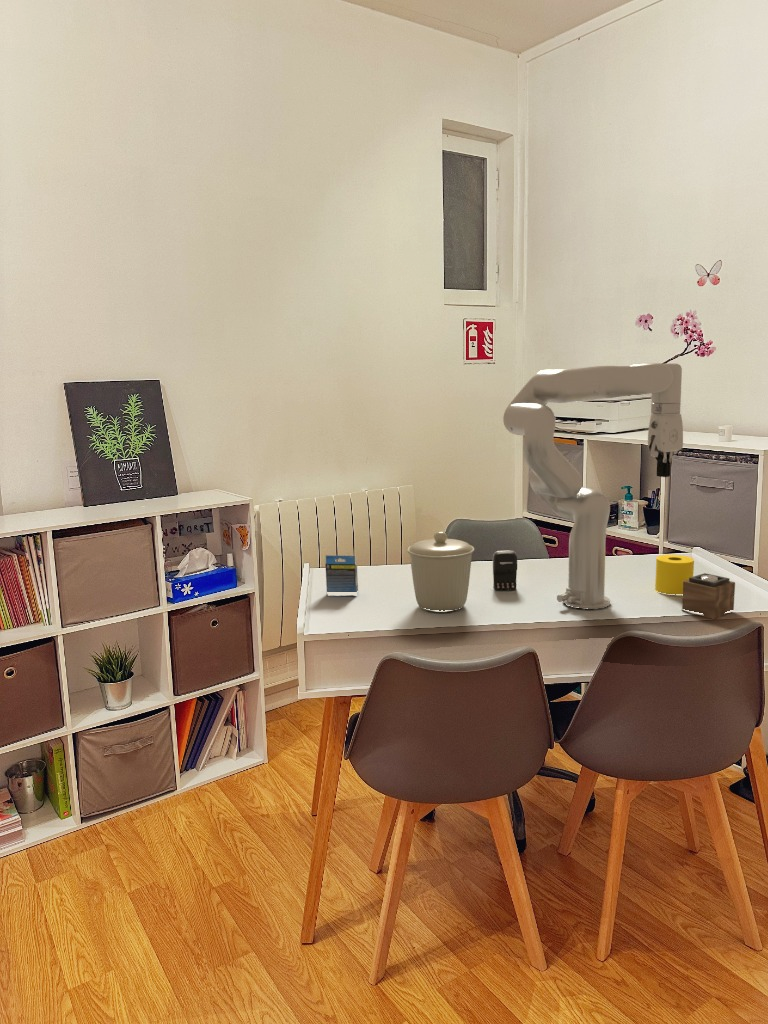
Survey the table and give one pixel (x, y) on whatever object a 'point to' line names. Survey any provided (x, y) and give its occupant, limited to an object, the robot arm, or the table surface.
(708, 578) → the peg
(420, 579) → the canister
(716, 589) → the socket block
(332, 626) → the table surface
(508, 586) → the battery charger
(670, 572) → the tape roll
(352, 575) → the label tape box
